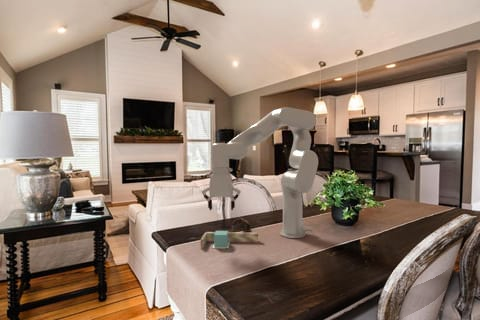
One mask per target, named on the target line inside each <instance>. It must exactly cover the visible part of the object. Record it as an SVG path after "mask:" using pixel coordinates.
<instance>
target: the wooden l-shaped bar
mask: <svg viewBox="0 0 480 320" xmlns="http://www.w3.org/2000/svg"><path fill="white" fill-rule="evenodd" d="M215 232H216V231H205V232H204V233H203V235H202V236H201V238H200V249H203V250H204V249H205V247H206V245H207V243H208V242H214V234H215ZM228 242H230V243H231V242H232V243H233V242H234V243H235V242H236V243H240V242H241V243H259V232H251V233H250V232H244V231H243V232H242V231H241V232H239V231H234V232H231V231H228Z"/></svg>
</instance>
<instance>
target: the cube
mask: <svg viewBox="0 0 480 320" xmlns="http://www.w3.org/2000/svg"><path fill="white" fill-rule="evenodd" d="M214 232H215V234H214V241H213V245H214V247H227V245H228V232H229V230H215V231H214Z"/></svg>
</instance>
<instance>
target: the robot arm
mask: <svg viewBox="0 0 480 320" xmlns="http://www.w3.org/2000/svg"><path fill="white" fill-rule="evenodd" d="M316 124H317V117H316V115H315V114H314V112H312V111H310V110H305V109H298V108H293V107H286V106H285V107H280V108H275V109H273V110H272V111H270V112H269V113H268V114H266V115H265V116H264V117H262V118H261V119H260V120H259V121H257V122H256V123H255V124H254V125H251V126H250V127H249V128H247V129H246V130H244V131H243V132H241V133H240V134H238V135H237V136H236V137H234V138H232V139H231V140H230V141H229V142H227V143H225V142H221V143H220V142H216V143H213V144H212V145H211V148H210V149H211V174H210V178H209V186H208V187H206V188H205V189H203V190H202V191H201V194H202V196H203V198H204V199H205V200H206V201H207V205H208V206H207V207H208V209H209V211H212V210H213V199H212V198H230V199H231V201H230V210H231V211H234V208H235V207H236V206H235V205H236V204H235V201H236V200H237V199H238V198H239V195H241V192H242V191H241V190H240V189H238V188H236V187H235V186H233V178H232V174H231V172H233V168H231V167H230V159H231V160H242V159H244V158H245V157H246V156H247V155H248V148H249V147H251V146H252V145H255V144H258V143H261V142H264V141H265V140H267V139H268V138H269V137H271V135H273V134H274V133H275V132H277V130H279V129H281V128H282V127H289V129H290V131H291V133H292V135H293V142H292V147H291V150H290V153H289V154H290V155H289V158H288V163H289V166H290V167H291V168H294V169H295V170H296V169H297V170H296V171H295V170H289V171H285V172H284V173H283V174H282V175H281V180H280V186H281V191H282V229H280V230H279V235H280V236H282V237H283V238H286V239H301V238H304V237H306V232H308V233H312V232H313V227H309V226H304V225H303V194H307V193H309V192H310V190H312V188H313V186H314V182H315V179H316V175H317V171H318V168H319V167H318V166H319V157H318V154H316V152H315V151H313V150H311V144H312V136H311V133H310V130H311V129H314V127H315V125H316ZM207 192H208V193H209V195H207ZM234 192H236V194H235V195H233V194H234Z"/></svg>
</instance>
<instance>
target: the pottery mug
mask: <svg viewBox="0 0 480 320" xmlns="http://www.w3.org/2000/svg"><path fill="white" fill-rule="evenodd" d="M237 223H238V224H237ZM245 228H246V230H247V231H249V233H253V232H252V228H251V224H250V223H249V221H248V220H246V219H245V218H244V217H239V218H236V219H235V220H234V221H233V222H232V223H231V231H232V232H239V231H243V229H245Z"/></svg>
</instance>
